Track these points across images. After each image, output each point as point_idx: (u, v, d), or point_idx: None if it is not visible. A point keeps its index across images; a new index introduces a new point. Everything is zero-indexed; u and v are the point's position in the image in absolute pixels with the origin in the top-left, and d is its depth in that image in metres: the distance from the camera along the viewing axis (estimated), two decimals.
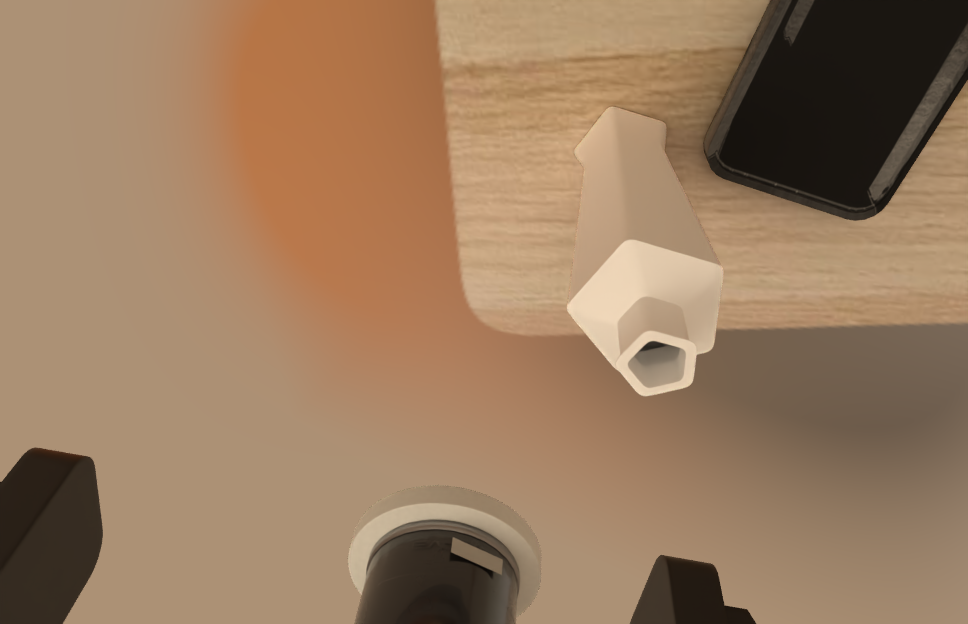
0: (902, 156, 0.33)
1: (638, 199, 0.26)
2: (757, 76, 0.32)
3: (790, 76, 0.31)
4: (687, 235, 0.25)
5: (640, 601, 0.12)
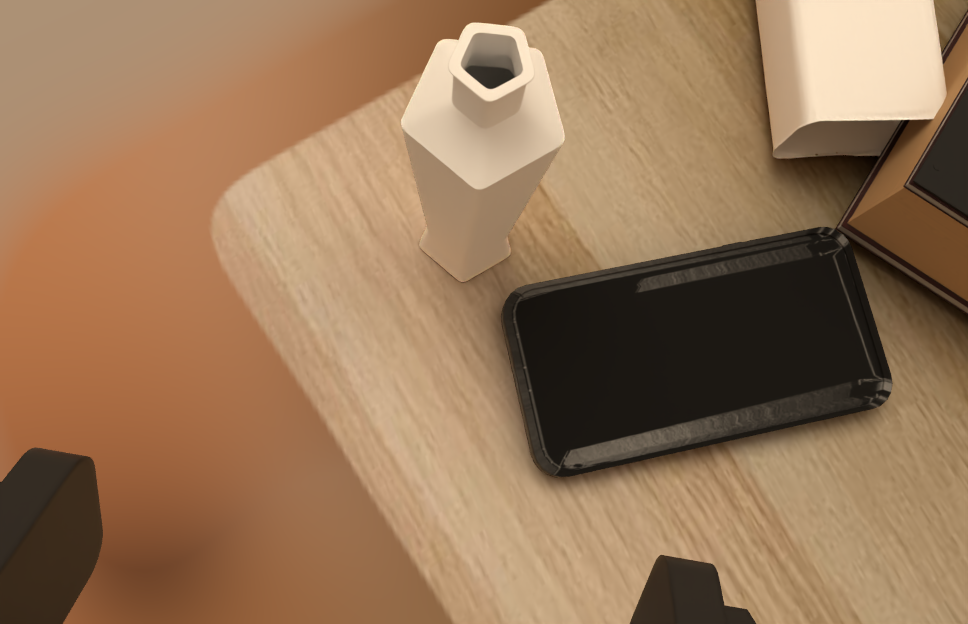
0: (613, 453, 0.33)
1: None
2: (599, 284, 0.34)
3: (614, 309, 0.34)
4: None
5: (640, 601, 0.12)
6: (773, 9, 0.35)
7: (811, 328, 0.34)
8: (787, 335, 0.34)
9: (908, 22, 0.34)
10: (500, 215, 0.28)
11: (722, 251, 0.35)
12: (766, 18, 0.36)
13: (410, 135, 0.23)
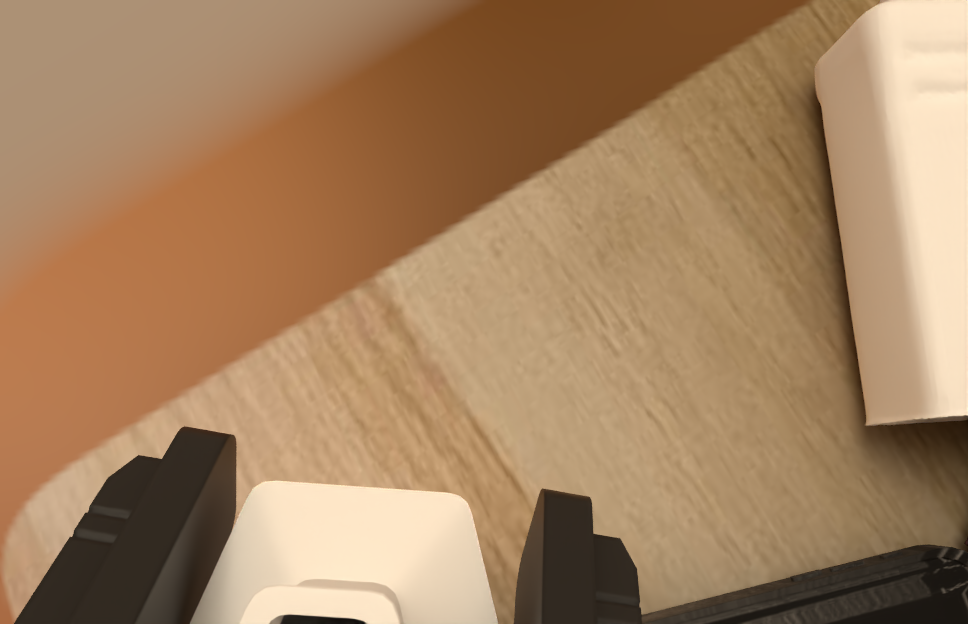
0: None
1: None
2: None
3: None
4: None
5: (528, 535, 0.13)
6: (868, 213, 0.23)
7: None
8: None
9: None
10: None
11: (793, 592, 0.22)
12: (853, 219, 0.24)
13: None
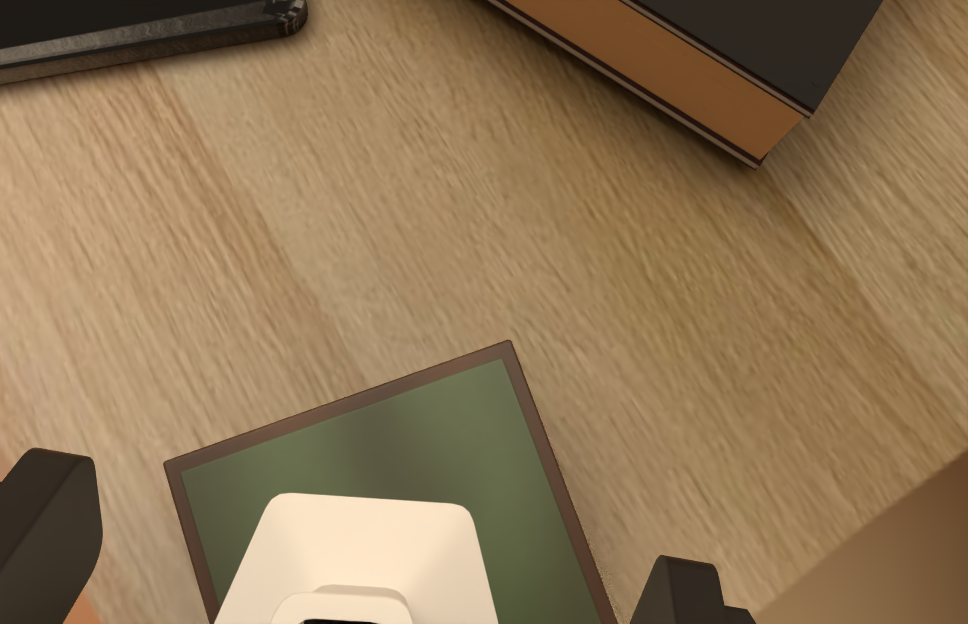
0: (20, 57, 0.35)
1: None
2: None
3: None
4: None
5: (640, 601, 0.12)
6: None
7: None
8: None
9: None
10: None
11: None
12: None
13: None
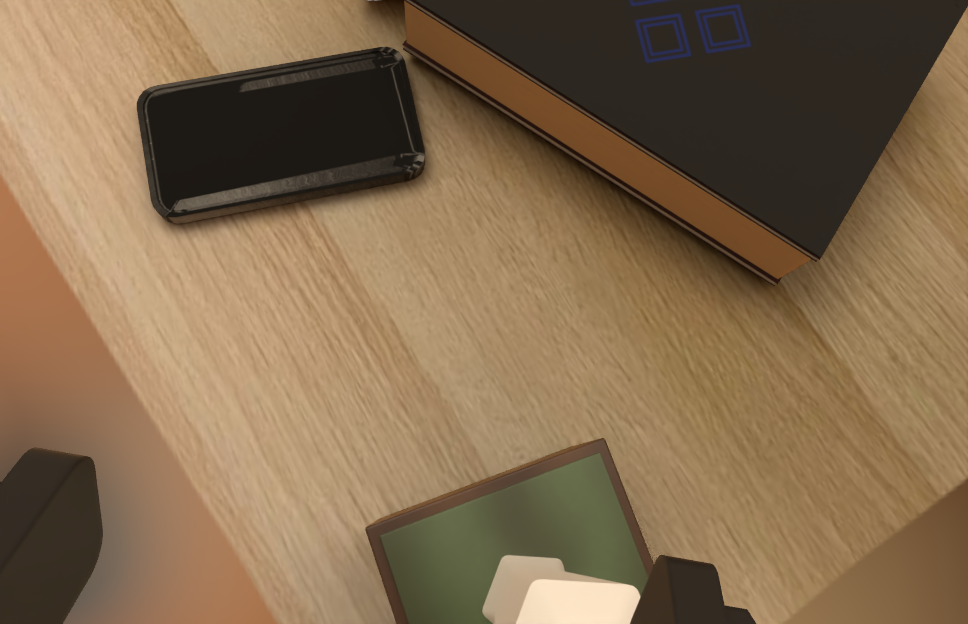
0: (211, 203, 0.45)
1: None
2: (211, 85, 0.47)
3: (221, 104, 0.46)
4: None
5: (640, 601, 0.12)
6: None
7: (369, 118, 0.47)
8: (350, 122, 0.47)
9: None
10: None
11: (306, 63, 0.47)
12: None
13: None
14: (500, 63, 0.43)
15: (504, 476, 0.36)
